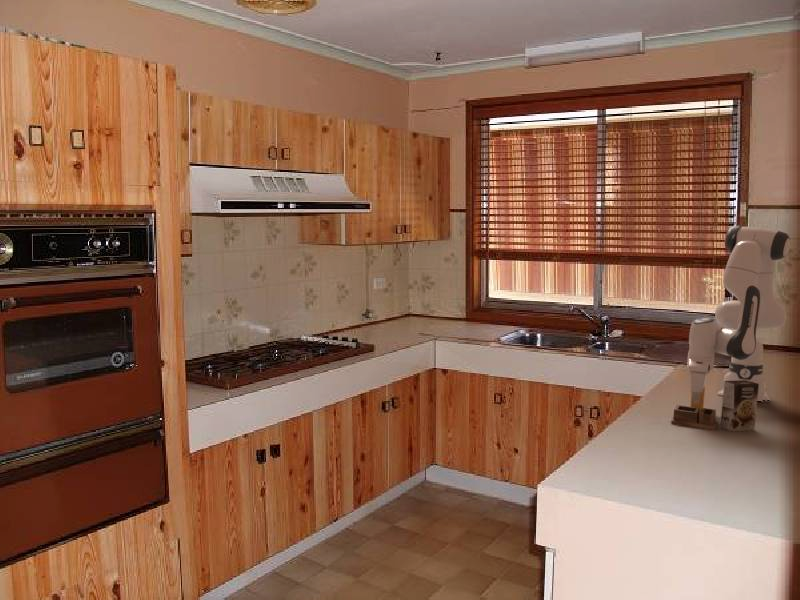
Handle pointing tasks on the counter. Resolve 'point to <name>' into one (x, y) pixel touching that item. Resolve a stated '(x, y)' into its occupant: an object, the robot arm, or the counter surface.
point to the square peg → (701, 401)
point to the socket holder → (695, 417)
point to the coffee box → (739, 405)
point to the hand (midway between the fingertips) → (697, 400)
